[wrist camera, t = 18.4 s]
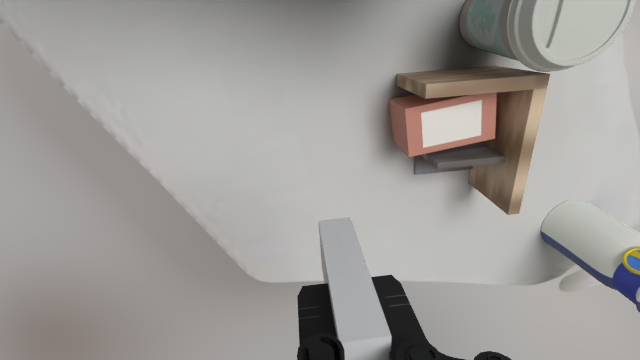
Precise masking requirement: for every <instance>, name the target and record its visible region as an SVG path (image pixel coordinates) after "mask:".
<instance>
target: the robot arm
mask: <svg viewBox="0 0 640 360" xmlns="http://www.w3.org/2000/svg"><path fill="white" fill-rule="evenodd" d="M318 222H319V234H320V247H321V259H322V270H323V276H324V282H325V284H317V285H309V286H303V287H302V289H301V291H300V293H299V295H298V317H299V338H300V339H299V340H300V346H299V348H298V354H297V359H298V360H464V359H458V358H453V357H450V356H446V355H444V354H442V353H440V352H438V351H437V349H436V348H435V347H433V346H432V345H431V344H430V343H429V342H428V340H427V339H426V337H425V335H424V333H423V331H422V329H421V326H420V324H419V322H418V320H417V318H416V316H415V313H414V311H413V309H412V307H411V305H410V302H409V301H408V298H407V296H406V294H405V292H404V289H403V287H402V285H401V283H400V282H399V281H398V280H396V279H395V278H394V277H393V276H392V275H386V276H377V277H371V276H370V273H369V270H368V267H367V265H366V262H365V259H364V256H363V253H362V250H361V247H360V245H359V242H358V239H357V236H356V233H355V230H354V227H353V225H352V222H351V219H350V218H342V219H332V220H323V221H318ZM474 360H511V359H510V358H508V357H507V356H504V355H502V354H500V353H496V352H491V351H487V352H481V353H479V354H478V355H477V356H476V357H475V358H474Z"/></svg>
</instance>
